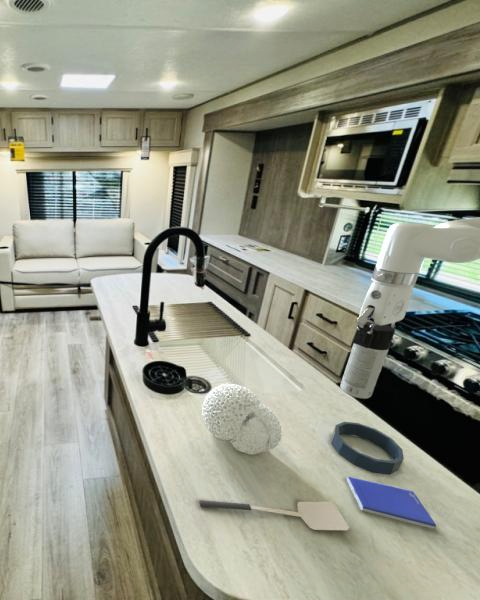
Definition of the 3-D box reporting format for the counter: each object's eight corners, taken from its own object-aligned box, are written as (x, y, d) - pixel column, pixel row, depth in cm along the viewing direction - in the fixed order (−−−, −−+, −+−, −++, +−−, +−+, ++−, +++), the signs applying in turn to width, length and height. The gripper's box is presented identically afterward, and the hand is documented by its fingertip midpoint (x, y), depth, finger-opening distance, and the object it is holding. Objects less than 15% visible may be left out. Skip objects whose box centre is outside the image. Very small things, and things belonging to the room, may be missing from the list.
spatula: (348, 534, 65) (350, 530, 64) (202, 517, 69) (203, 513, 68) (330, 506, 71) (332, 501, 70) (196, 491, 74) (197, 487, 74)
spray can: (377, 400, 82) (403, 332, 75) (348, 398, 83) (372, 331, 76) (360, 385, 88) (383, 321, 81) (333, 383, 89) (354, 320, 82)
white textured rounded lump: (188, 419, 85) (228, 374, 82) (192, 407, 101) (226, 369, 98) (254, 480, 77) (301, 432, 75) (248, 457, 93) (286, 417, 91)
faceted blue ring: (351, 427, 92) (355, 416, 91) (410, 464, 80) (415, 452, 79) (319, 440, 88) (323, 429, 86) (376, 481, 76) (382, 469, 74)
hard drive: (413, 490, 72) (348, 475, 76) (436, 525, 65) (363, 506, 69) (410, 495, 72) (346, 480, 76) (434, 530, 65) (361, 511, 69)
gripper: (391, 286, 68) (365, 356, 74) (436, 276, 73) (408, 342, 80) (352, 277, 74) (332, 342, 81) (396, 268, 80) (374, 330, 86)
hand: (370, 342), depth 80 cm, fingers closed on spray can, 6 cm apart
